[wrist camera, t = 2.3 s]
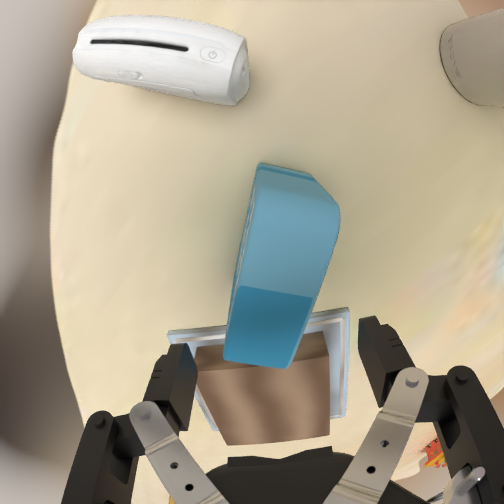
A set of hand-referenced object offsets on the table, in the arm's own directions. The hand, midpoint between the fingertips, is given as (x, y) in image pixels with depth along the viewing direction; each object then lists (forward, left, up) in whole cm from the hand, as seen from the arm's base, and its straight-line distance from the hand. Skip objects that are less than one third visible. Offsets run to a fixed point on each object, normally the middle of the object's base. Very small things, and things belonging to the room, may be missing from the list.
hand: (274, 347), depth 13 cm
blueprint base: (+3, +20, -16) cm, 26 cm away
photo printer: (+4, -15, -16) cm, 22 cm away
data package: (0, 0, -16) cm, 16 cm away
